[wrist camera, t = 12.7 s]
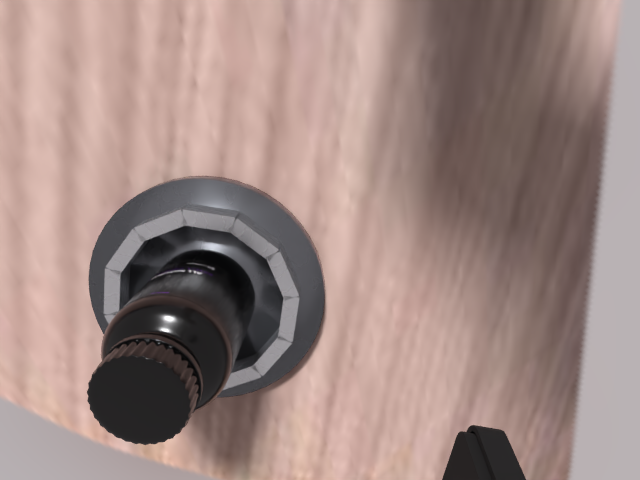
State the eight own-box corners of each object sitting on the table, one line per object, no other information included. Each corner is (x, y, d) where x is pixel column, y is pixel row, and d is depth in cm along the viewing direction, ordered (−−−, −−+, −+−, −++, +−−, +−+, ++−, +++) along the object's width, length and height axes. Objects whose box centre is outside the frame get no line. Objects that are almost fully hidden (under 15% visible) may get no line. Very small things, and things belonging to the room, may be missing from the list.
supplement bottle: (203, 225, 32) (133, 302, 21) (277, 296, 33) (249, 406, 22) (134, 291, 34) (33, 397, 22) (208, 356, 35) (148, 489, 23)
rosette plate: (99, 158, 32) (78, 164, 29) (342, 196, 32) (342, 205, 30) (94, 371, 37) (76, 393, 34) (306, 401, 37) (304, 426, 35)
